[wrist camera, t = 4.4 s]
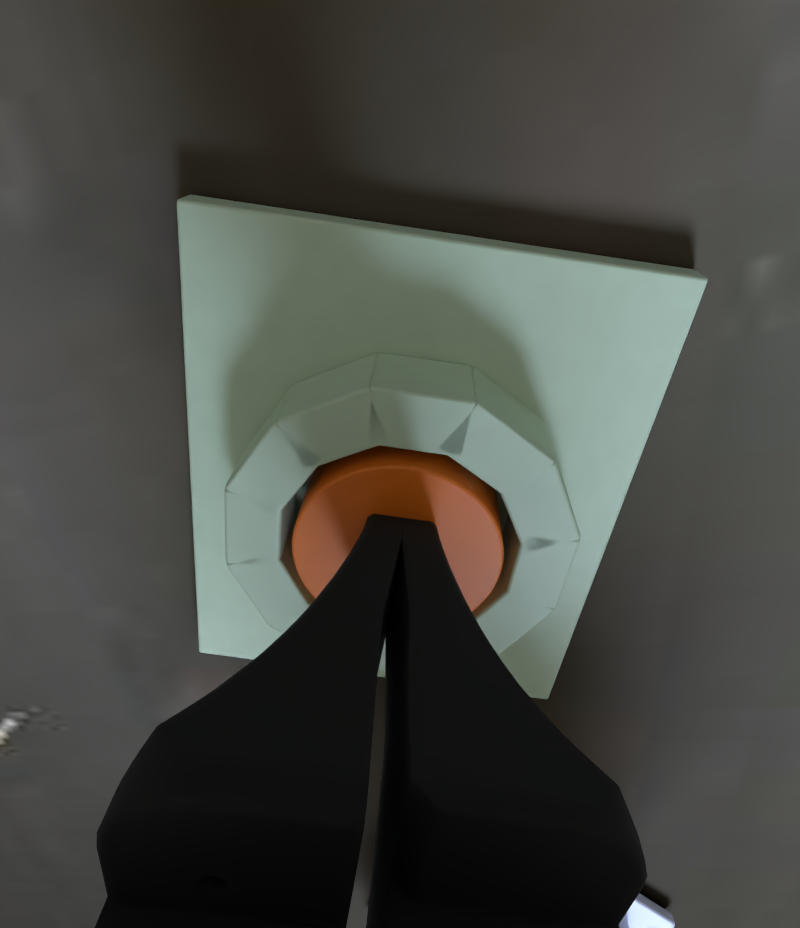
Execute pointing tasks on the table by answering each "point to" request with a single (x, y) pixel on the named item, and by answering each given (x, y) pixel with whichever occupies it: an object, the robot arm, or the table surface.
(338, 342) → the button block
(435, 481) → the button
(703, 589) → the table surface
